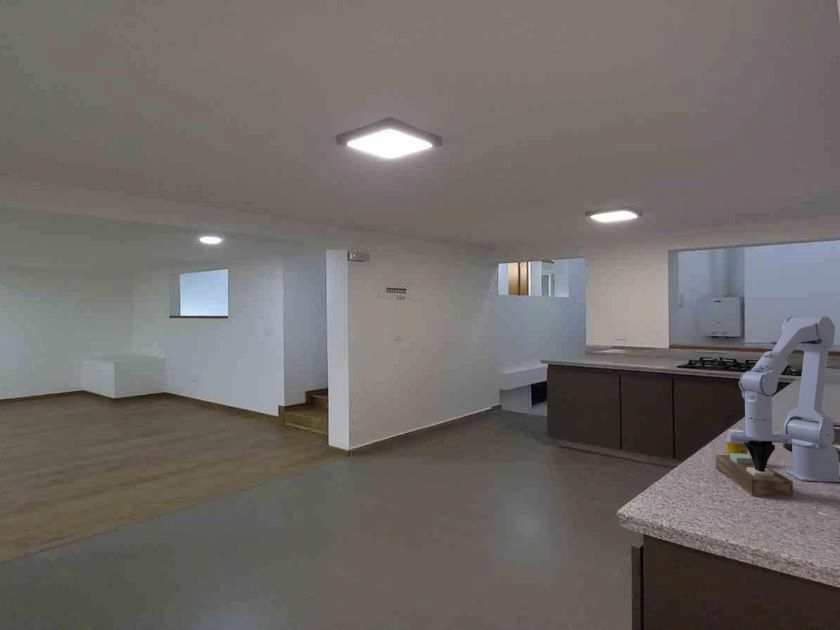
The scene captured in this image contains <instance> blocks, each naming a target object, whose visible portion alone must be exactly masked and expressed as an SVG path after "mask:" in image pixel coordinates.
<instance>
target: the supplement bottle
mask: <svg viewBox="0 0 840 630" xmlns="http://www.w3.org/2000/svg"><path fill="white" fill-rule="evenodd" d="M735 433H745V431H744V430H741V429H728V434H735ZM725 441H726V455H730V454H748V455H749V451H748V449H747V447H746V446H745V444H744V442H735V443H730V442H728V441H727V438H726V440H725Z"/></svg>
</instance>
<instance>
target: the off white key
mask: <svg viewBox="0 0 840 630" xmlns="http://www.w3.org/2000/svg"><path fill="white" fill-rule="evenodd" d="M746 469H747V471H748V472H749V473H751V474H752V475H754V476H774V473H772V472H771V471H769V470H768V469H766V468H765V472H761V471H757V470H756V469H755V468H752V467H746Z"/></svg>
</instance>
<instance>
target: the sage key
mask: <svg viewBox="0 0 840 630" xmlns="http://www.w3.org/2000/svg"><path fill="white" fill-rule="evenodd" d="M730 460H731V461H733V462H734V463H736V464H754V463H753V460H752V457H751V455H750V454H749V453H748V454H730Z"/></svg>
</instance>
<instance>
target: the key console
mask: <svg viewBox="0 0 840 630" xmlns="http://www.w3.org/2000/svg"><path fill="white" fill-rule="evenodd" d="M746 467H752V468H755V467H754V464H736V463H734V462H733V461H731V460H730V455H727V454H715V469H716V470H718V472H720V473H722V475H724V476H725V477H727V478H728V479H730V481H732V482H733V483H735V484H736V485H737V486H738V487H740V488H741V489H742V490H744V491H745V492H746V493H748V494H749V495H750V496H751V497H767V498H768V497H769V498H772V497H773V498H789V499H790V498H791V499H793V498H794V490H793V489H794V486H793V485H794V484H793V482H794V481H793V480H791V479H789V478H788V477H786V476H785V475H783V474H781V473H779V472H778V471H776V470H774V469H773V468H771V467H770V466H768V465H766V469H768V470H769V471H771V472H772V473H774V476H754V475H752V474H751V473H749V472H748V471H747V469H746Z"/></svg>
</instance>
